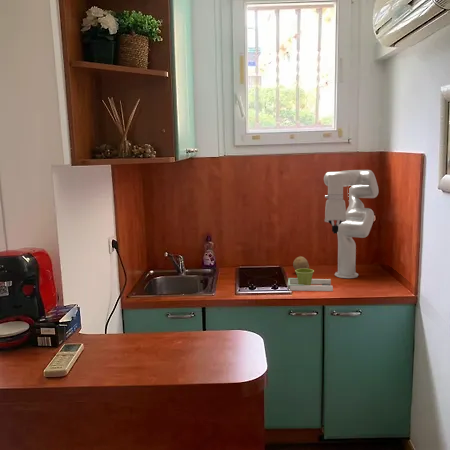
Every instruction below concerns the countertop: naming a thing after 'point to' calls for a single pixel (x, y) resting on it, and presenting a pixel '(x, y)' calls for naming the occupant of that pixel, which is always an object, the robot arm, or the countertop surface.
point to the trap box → (301, 287)
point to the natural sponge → (300, 263)
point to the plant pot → (304, 276)
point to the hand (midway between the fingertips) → (335, 233)
